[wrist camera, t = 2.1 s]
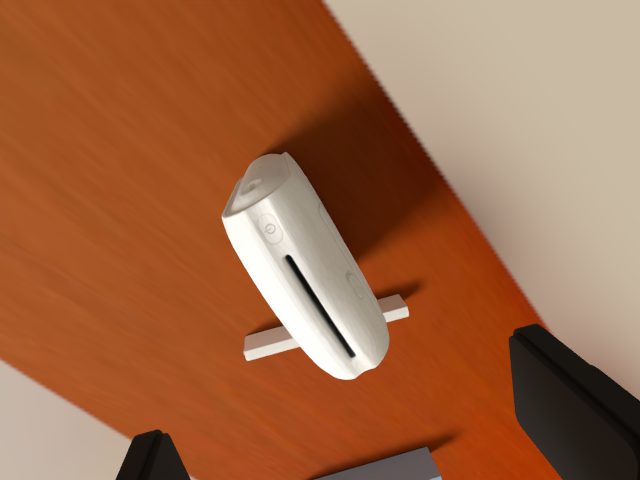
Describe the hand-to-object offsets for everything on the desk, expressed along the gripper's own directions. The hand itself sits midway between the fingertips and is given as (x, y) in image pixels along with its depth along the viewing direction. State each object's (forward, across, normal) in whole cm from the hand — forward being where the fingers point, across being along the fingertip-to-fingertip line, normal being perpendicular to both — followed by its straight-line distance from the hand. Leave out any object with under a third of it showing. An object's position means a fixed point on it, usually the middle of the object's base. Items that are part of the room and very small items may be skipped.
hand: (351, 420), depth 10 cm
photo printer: (+18, 0, -1) cm, 18 cm away
